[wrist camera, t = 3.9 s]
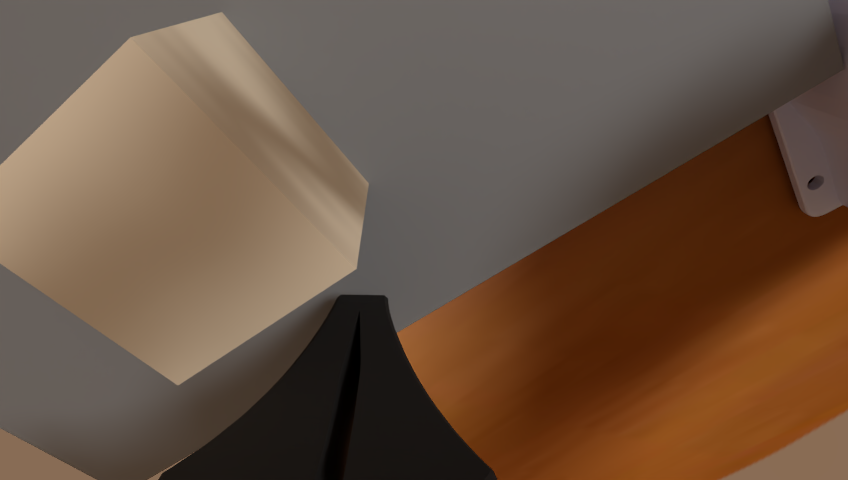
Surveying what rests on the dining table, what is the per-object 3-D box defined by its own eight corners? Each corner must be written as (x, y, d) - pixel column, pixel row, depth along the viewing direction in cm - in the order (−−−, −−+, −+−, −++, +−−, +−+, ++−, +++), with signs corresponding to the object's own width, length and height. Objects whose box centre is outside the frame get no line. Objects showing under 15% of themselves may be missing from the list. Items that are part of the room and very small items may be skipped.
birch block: (368, 183, 12) (356, 269, 9) (233, 279, 14) (177, 385, 10) (221, 11, 10) (130, 37, 7) (78, 145, 12) (-60, 223, 8)
